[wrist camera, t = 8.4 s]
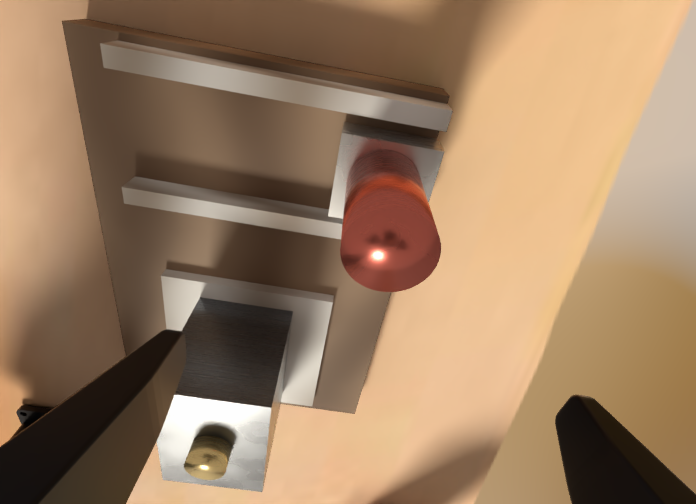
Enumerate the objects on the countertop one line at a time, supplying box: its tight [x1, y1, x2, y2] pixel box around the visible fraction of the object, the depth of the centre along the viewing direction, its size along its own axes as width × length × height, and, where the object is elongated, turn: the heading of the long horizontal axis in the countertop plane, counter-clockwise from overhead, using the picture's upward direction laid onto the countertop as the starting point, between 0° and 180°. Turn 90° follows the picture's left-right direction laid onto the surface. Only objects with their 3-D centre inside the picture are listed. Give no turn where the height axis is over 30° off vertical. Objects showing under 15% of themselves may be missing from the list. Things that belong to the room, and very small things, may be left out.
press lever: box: [328, 122, 444, 292], centre depth 15 cm, size 4×4×7 cm
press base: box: [62, 19, 453, 414], centre depth 21 cm, size 15×21×3 cm
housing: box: [157, 297, 293, 492], centre depth 20 cm, size 5×7×7 cm
